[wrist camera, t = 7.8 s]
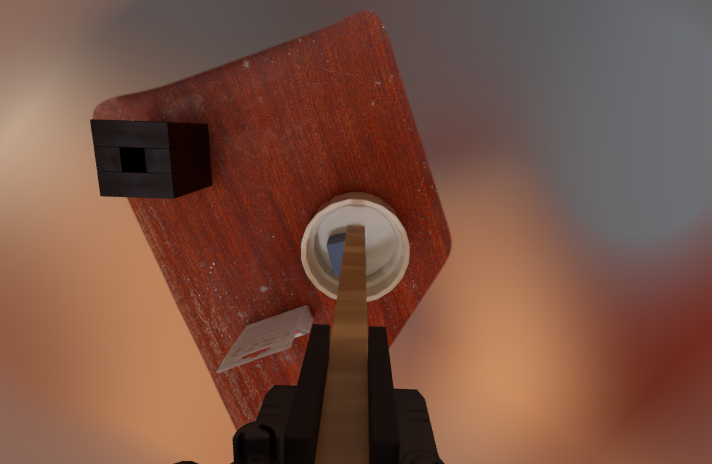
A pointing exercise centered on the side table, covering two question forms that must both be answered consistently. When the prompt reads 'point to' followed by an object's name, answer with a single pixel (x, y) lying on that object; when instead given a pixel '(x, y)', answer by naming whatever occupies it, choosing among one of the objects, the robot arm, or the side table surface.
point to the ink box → (268, 336)
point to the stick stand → (151, 158)
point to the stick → (347, 364)
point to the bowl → (381, 242)
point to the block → (336, 251)
